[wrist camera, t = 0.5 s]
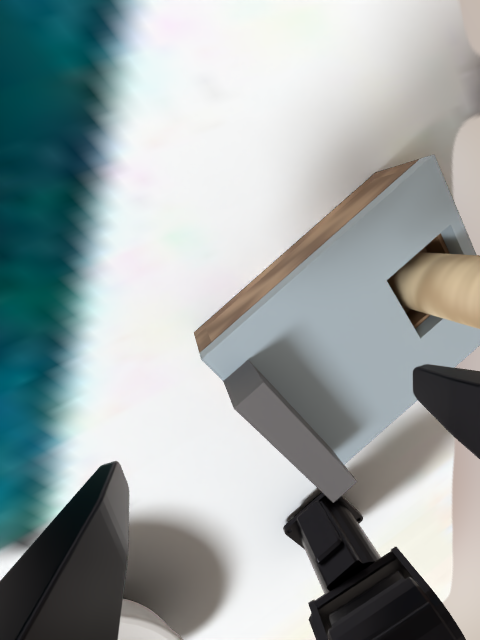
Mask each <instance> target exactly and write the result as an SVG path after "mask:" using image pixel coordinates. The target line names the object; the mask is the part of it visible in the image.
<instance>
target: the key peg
mask: <svg viewBox="0 0 480 640" xmlns="http://www.w3.org/2000/svg"><path fill="white" fill-rule="evenodd" d="M387 282H388V284H389V286H390V287H391V289H392V291H393V293H394V294H395V296H396V298H397V299H398V301H399V303H400V304H401V306H402V307H405V308H409V309H412V310H416V311H419V312H423V313H426V314H430V315H433V316H436V317H440V318H443V319H447V320H450V321H454V322H457V323H460V324H464V325H467V326H471V327H474V328H478V329H480V256H479V255H461V254H443V253H425V252H418V253H417V254H416V255H415V256H414V257H413V258H412V259H410V260H409V261H408V262H407V263H406V264H405V265H404V266H403V267H401V268H400V269H399V270H398V271H397V272H396V273H395V274H393V275H392V276H391V277H390V278H389V279H388V280H387Z"/></svg>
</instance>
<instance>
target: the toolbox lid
mask: <svg viewBox="0 0 480 640" xmlns="http://www.w3.org/2000/svg"><path fill="white" fill-rule="evenodd" d="M440 233H441V235H442V237H443V239H444V242H445V244H446V246H447V248H448V250H449V252H450V254H461V255H476V253H475V251H474V248H473V246H472V243H471V241H470V239H469V236H468V234H467V232H466V229H465V227H464V224H463V222H462V219H461V217H460V215H459V212H458V210H457V208H456V205H455V203H454V200H453V198H452V196H451V193H450V191H449V189H448V186H447V184H446V181H445V179H444V177H443V174H442V172H441V170H440V167H439V165H438V162H437V160H436V158H435V155H431V156H427V157H424V158H421V159H419V160H418V161H417V162H416V163H415V164H414V165H412V166H411V167H410V168H409V169H408V170H407V171H406V172H404V173H403V174H402V175H401V176H400V177H399V178H398V179H397V180H395V181H394V182H393V183H392V184H391V185H390V186H389V187H387V188H386V189H385V190H384V191H383V192H382V193H381V194H380V195H378V196H377V197H376V198H375V199H374V200H373V201H372V202H370V203H369V204H368V205H367V206H366V207H365V208H364V209H362V210H361V211H360V212H359V213H358V214H357V215H356V216H355V217H353V218H352V219H351V220H350V221H349V222H348V223H347V224H345V225H344V226H343V227H342V228H341V229H340V230H339V231H338V232H336V233H335V234H334V235H333V236H332V237H331V238H330V239H328V240H327V241H326V242H325V243H324V244H323V245H322V246H320V247H319V248H318V249H317V250H316V251H315V252H314V253H313V254H311V255H310V256H309V257H308V258H307V259H306V260H305V261H303V262H302V263H301V264H300V265H299V266H298V267H297V268H296V269H294V270H293V271H292V272H291V273H290V274H289V275H288V276H286V277H285V278H284V279H283V280H282V281H281V282H280V283H278V284H277V285H276V286H275V287H274V288H273V289H272V290H271V291H269V292H268V293H267V294H266V295H265V296H264V297H263V298H261V299H260V300H259V301H258V302H257V303H256V304H255V305H254V306H252V307H251V308H250V309H249V310H248V311H247V312H246V313H244V314H243V315H242V316H241V317H240V318H239V319H238V320H236V321H235V322H234V323H233V324H232V325H231V326H230V327H229V328H227V329H226V330H225V331H224V332H223V333H222V334H221V335H219V336H218V337H217V338H216V339H215V340H214V341H213V342H212V343H210V344H209V345H208V346H207V347H206V348H205V349H204V350H202V351H201V352H200V357H201V360H202V361H203V362H204V363H205V364H206V365H207V366H208V367H209V368H210V369H212V370H213V371H214V372H215V373H216V374H217V375H218V376H219V377H220V378H221V379H222V380H223V382H224V384H225V387H226V389H227V392H228V394H229V397H230V399H231V402H232V405H233V407H234V409H235V410H236V411H237V412H238V413H239V414H240V415H241V416H242V417H244V418H245V419H246V420H247V421H248V422H249V423H250V424H251V425H252V426H253V427H254V428H255V429H256V430H257V431H258V432H259V433H260V434H261V435H262V436H264V437H265V438H266V439H267V440H268V441H269V442H270V443H271V444H272V445H273V446H274V447H275V448H276V449H277V450H278V451H279V452H280V453H281V454H282V455H284V456H285V457H286V458H287V459H288V460H289V461H290V462H291V463H292V464H293V465H294V466H295V467H296V468H297V469H298V470H299V471H300V472H301V473H302V474H304V475H305V476H306V477H307V478H308V479H309V480H310V481H311V482H312V483H313V484H314V485H315V486H316V487H317V488H318V489H319V490H320V491H321V492H322V493H324V494H325V495H326V496H327V497H328V498H329V499H330V500H331V501H332V502H333V503H334V502H335V501H336V500H337V499H338V498H339V497H341V496H342V495H343V494H344V493H345V492H346V491H347V490H349V489H350V488H351V487H352V486H353V485H354V484H355V483H356V482H357V481H356V480H355V478H354V477H353V476H352V474H351V473H350V472H349V471H348V469H347V468H346V467H345V464H346V463H347V462H348V461H349V460H350V459H351V458H353V457H354V456H355V455H356V454H357V453H358V452H359V451H360V450H362V449H363V448H364V447H365V446H366V445H367V444H368V443H370V442H371V441H372V440H373V439H374V438H375V437H376V436H377V435H379V434H380V433H381V432H382V431H383V430H384V429H385V428H387V427H388V426H389V425H390V424H391V423H392V422H393V421H394V420H396V419H397V418H398V417H399V416H400V415H401V414H402V413H404V412H405V411H406V410H407V409H408V408H409V407H410V406H411V405H413V404H414V403H415V402H416V401H417V398H416V397H415V395H414V393H413V370H414V368H415V367H418V366H421V365H424V364H431V365H438V366H445V367H452V368H455V367H456V366H457V365H458V364H459V363H460V362H461V361H463V360H464V359H465V358H466V357H467V356H468V355H469V354H470V353H472V352H473V351H474V350H475V349H476V348H477V347H478V346H480V329H478V328H474V327H471V326H467V325H464V324H460V323H457V322H454V321H450V320H447V319H443V318H440V317H436V316H433V315H430V316H429V317H428V318H427V319H426V320H425V321H424V322H423V323H421V324H420V325H419V326H418V327H417V328H416V329H415V328H414V327H413V325H412V323H411V322H410V320H409V318H408V316H407V315H406V313H405V311H404V310H403V308H402V306H401V304H400V303H399V301H398V299H397V298H396V296H395V294H394V293H393V291H392V289H391V287H390V286H389V284H388V282H387V280H388V279H389V278H390V277H391V276H392V275H393V274H395V273H396V272H397V271H398V270H399V269H400V268H401V267H403V266H404V265H405V264H406V263H407V262H408V261H409V260H410V259H412V258H413V257H414V256H415V255H416V254H417V253H418V252H420V251H421V250H422V249H423V248H424V247H425V246H426V245H427V244H429V243H430V242H431V241H432V240H433V239H434V238H435V237H437V236H438V235H439V234H440Z"/></svg>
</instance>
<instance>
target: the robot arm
mask: <svg viewBox="0 0 480 640" xmlns="http://www.w3.org/2000/svg"><path fill="white" fill-rule="evenodd" d="M413 393H414V395H415V397H416V398H417V400H418V401H419V402H420V403H421V404H422V405H423V406H424V407H425V408H426V409H427V410H428V411H429V412H430V413H431V414H432V415H433V416H434V417H435V418H436V419H437V420H438V421H439V422H440V423H441V424H442V425H443V426H444V427H445V428H446V429H447V430H448V431H449V432H450V433H451V434H452V435H453V436H454V437H455V438H456V439H458V441H459V442H461V443H462V444H463V445H464V446H465V447H466V448H467V449H469V450H470V451H471V452H472V453H473V454H474V455H475V456H477V457H478V458H479V459H480V371H474V370H467V369H459V368H452V367H445V366H438V365H431V364H424V365H421V366H418V367H415V368H414V370H413ZM362 520H363V517H362V515H361V514H360V513H359V512H358V511H357V510H356V509H355V508H354V507H353V506H352V505H351V504H350V503H349V502H348V501H347V500H346V499H345V498H344V497H343V496H341V497H339V498H338V499H337V500H336V501H335V502H334V503H333V502H332V501H331V500H330V499H329V498H328V497H327V496H326V495H325V494H324V493H321V494H320V495H319V496H318V497H316V498H315V499H314V500H313V501H312V502H311V503H310V504H308V505H307V506H306V507H305V508H304V509H303V510H302V511H301V512H299V513H298V514H297V515H296V516H295V517H294V518H293V519H291V520H290V521H289V522H288V523H287V524H286V525H285V526H284V528H283V529H284V532H285V534H286V535H287V536H288V537H290V538H291V539H292V540H294V541H295V542H296V543H297V544H299V545H300V546H301V547H303V548H304V549H305V550H306V553H307V555H308V557H309V560H310V562H311V564H312V566H313V569H314V571H315V573H316V575H317V578H318V580H319V582H320V584H321V587H322V589H323V591H324V593H325V594H324V595H323V596H321V597H320V598H318V599H317V600H312V601H311V602H309V607H310V610H311V613H312V614H311V616H310V618H309V621H310V624H311V627H312V629H313V632H314V635H315V638H316V640H466V639H465V637H464V635H463V634H462V632H461V630H460V629H459V627H458V626H457V624H456V622H455V621H454V619H453V618H452V616H451V615H450V613H449V612H448V610H447V609H446V608H445V606H444V605H443V603H442V602H441V601H440V599H439V598H438V597H437V595H436V594H435V593H434V592H433V590H432V589H431V588H430V587H429V585H428V584H427V583H426V582H425V581H424V579H423V578H422V577H421V576H420V575H419V573H418V572H417V571H416V570H415V569H414V567H413V566H412V565H411V564H410V563H409V561H408V560H407V559H406V558H405V557H404V555H403V554H402V553H401V552H400V551H399V549H398V548H397V547H394V548H393V549H391V552H389V553H388V554H386V555H384V556H383V557H380V555H379V554H378V552H377V551H376V549H375V548H374V546H373V545H372V543H371V542H370V540H369V539H368V537H367V536H366V534H365V533H364V531H363V530H362V528H361V527H360V525H359V523H360V522H361V521H362ZM128 532H129V487H128V483H127V481H126V478H125V476H124V473H123V470H122V468H121V465H120V464H119V462H117V461H114V462H111V463H107V464H104V465H102V466H100V467H99V468H98V469H97V471H96V472H95V473H94V474H93V475H92V476H91V477H90V479H89V480H88V481H87V482H86V483H85V484H84V486H83V487H82V488H81V489H80V490H79V491H78V492H77V494H76V495H75V496H74V497H73V498H72V499H71V500H70V502H69V503H68V504H67V505H66V506H65V507H64V508H63V510H62V511H61V512H60V513H59V514H58V515H57V517H56V518H55V519H54V520H53V521H52V522H51V523H50V525H49V526H48V527H47V528H46V529H45V530H44V531H43V533H42V534H41V535H40V536H39V537H38V538H37V539H36V541H35V542H34V543H33V544H32V545H31V546H30V548H29V549H28V550H27V551H26V552H25V553H24V554H23V556H22V557H21V558H20V559H19V560H18V561H17V562H16V564H15V565H14V566H13V567H12V568H11V569H10V570H9V572H8V573H7V574H6V575H5V576H4V577H3V578H2V580H1V581H0V640H118V634H119V626H120V618H121V610H122V602H123V594H124V586H125V578H126V570H127V560H128Z"/></svg>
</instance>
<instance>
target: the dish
mask: <svg viewBox="0 0 480 640" xmlns="http://www.w3.org/2000/svg"><path fill="white" fill-rule="evenodd" d="M118 640H183V639H182V638H181V637H180V636H179V635H178V634H177V633H176V632H175V631H174V630H172V629H171V628H170V627H169V626H168V625H167V624H166V623H165V622H164V621H163V620H162V619H161V618H160V617H159V616H158V615H157V614H156V613H154V612H153V611H152V610H150V609H149V608H147V607H145V606H143V605H141V604H139V603H137V602H134V601H131V600H128V599H123V602H122V610H121V618H120V626H119V634H118Z"/></svg>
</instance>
